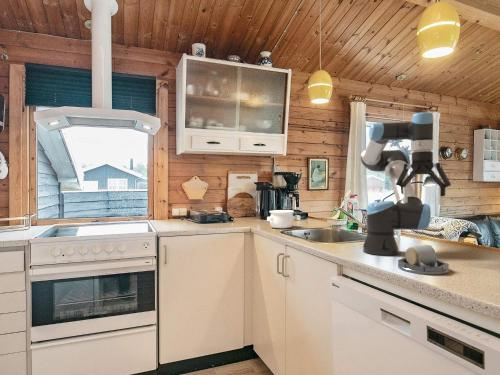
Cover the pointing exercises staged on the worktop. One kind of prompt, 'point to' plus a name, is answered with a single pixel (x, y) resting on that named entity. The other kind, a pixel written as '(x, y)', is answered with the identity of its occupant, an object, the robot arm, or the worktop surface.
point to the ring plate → (424, 268)
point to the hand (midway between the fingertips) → (422, 203)
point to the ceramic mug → (421, 256)
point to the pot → (281, 218)
